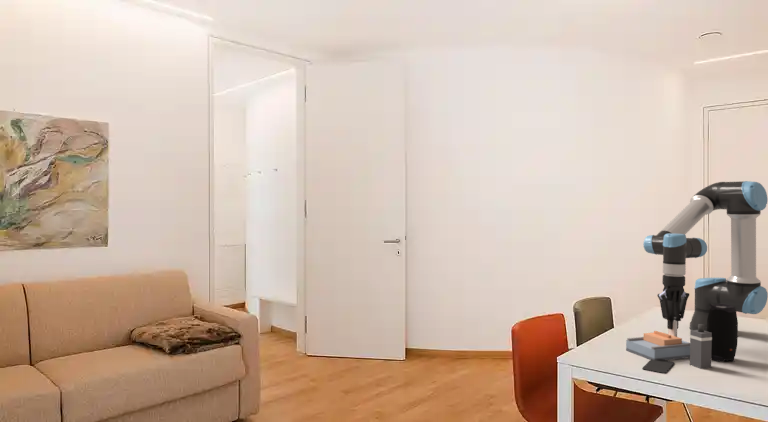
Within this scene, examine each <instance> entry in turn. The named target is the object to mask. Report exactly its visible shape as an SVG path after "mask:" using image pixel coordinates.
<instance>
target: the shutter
mask: <svg viewBox="0 0 768 422" xmlns="http://www.w3.org/2000/svg"><path fill="white" fill-rule="evenodd" d="M643 337H644V338H643V340H645V341H648V342H651V343H654V344H657V345H660V346H665V345H675V344H682V341H683V338H681V337H678V336H677V337H676V336H672V335H669V334H668V333H666V332H662V331H659V330H654V331H653V332H645V333H643Z"/></svg>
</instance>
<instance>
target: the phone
mask: <svg viewBox="0 0 768 422" xmlns="http://www.w3.org/2000/svg"><path fill="white" fill-rule="evenodd" d="M673 366H675V362H674V361H672V360H661V359H659V360H653V359H651V360H650V359H649V360H648V362H647V363H646V364H645V365H644V366H642V370H643V371H647V372H652V373H656V374H662V375H664V374H667V373H668V372H669V371H670V369H672V368H673Z"/></svg>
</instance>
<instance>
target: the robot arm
mask: <svg viewBox="0 0 768 422" xmlns="http://www.w3.org/2000/svg"><path fill="white" fill-rule="evenodd" d="M767 205H768V193H767V190H766V189H765V186H763V184H761V182H757V181H751V180H749V181H748V180H745V181H744V180H743V181H718V182H715V183H712V184H709V185H707V186H705V187H704V188H702V189H700V190H699V191H698V192H697V193H695V194H694V195H693V196H692V197H691V198H690V201H689V203H688V204H687V205H686V206H685V207H684V208H683V209H682V210H681V211H679V213H678V214H676V216H674V218H673V219H672V220H670V222H669V223H667V224H666V225H665V226H664V227H663V228H662V229H661V230H660V231H659V232H658V233H657V234H656V235H655V234H652V235H651V234H650V235H647V236H645V238H644V239H643V248H644V251H645V252H646V253H647V254H652V255H657V256H658V255H661V256H662V258H663V259H662V285H663V289H662V292H661V293H657V298H658V299H659V304H660V310H661V315H662V319H664V320H666V321H667V326H666V327H667V329H668V333H667V334H669V335H672V336H676V337H678V329H679V322H682V319H684V317H685V312H686V306H687V302H688V299H689V297H690V293H688V292H687V291H685V289H684V287H685V286H686V276H685V275H686V272H687V271H686V269H687V268H686V267H687V266H686V265H687V264H686V263H687V262H686V259H693V258H694V259H697V258H701V257H703V256H705V255H706V253H707V252H708V245H707V242H706V240H704V239H702V238H700V237H687V236H686V235H687V234H688V233H689V232H690V231H691V230H692V228H693V227H695V225H697V224H698V223H699V222H700V221H701V220H702V219H703V218H704V217H705V216H706V215H710V214H711V213H713V212H714V211H717V210H725V211H726V215H727V216H728V217H729V218H730V268H731V269H730V271H731V272H730V274H731V275H730V276H729V277H728V278H726V277H702V278H701V277H700V278H698V279H696V280H695V284H694V312H693V314H692V316H691V319H690V322H689V329H690V331H692V330H698V324H703V325H704V331H707V318H708V314H709V310H710V304H713V305H715V304H729V305H731V306H733V307H735V309H736V313H737V312H739V313H742V314H745V315H746V314H748V315H757V314H759V313H761V312H763V310H764V308H765V307H766V305H767V302H768V290H767V289H766V287H764V286H762V285H761V283H762V281H761V280H760V279H759V277H757V218H758V217H759V216H760V215H761V211H763V210H765V209H766V208H767Z"/></svg>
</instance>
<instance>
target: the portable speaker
mask: <svg viewBox="0 0 768 422" xmlns="http://www.w3.org/2000/svg"><path fill="white" fill-rule="evenodd" d="M738 329H739V322H738V315H737V312H736V309H735V307H733V306H731V305H729V304H715V305H713V304H710V310H709V314H708V318H707V332H711V333H712V349H711V361H715V362H722V363H723V362H724V361H730V362H731V363H732V362H735V357H736V353H737V348H738V336H739V335H738V334H739V333H738V332H739V331H738Z"/></svg>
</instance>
